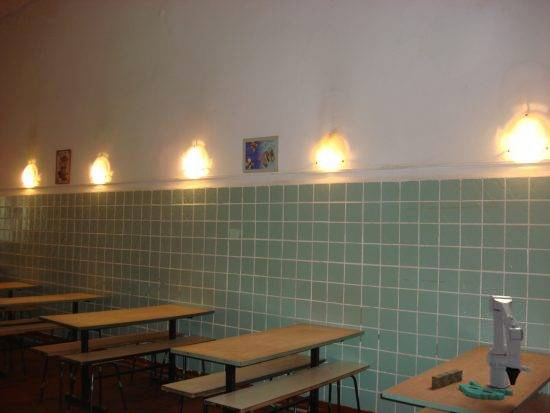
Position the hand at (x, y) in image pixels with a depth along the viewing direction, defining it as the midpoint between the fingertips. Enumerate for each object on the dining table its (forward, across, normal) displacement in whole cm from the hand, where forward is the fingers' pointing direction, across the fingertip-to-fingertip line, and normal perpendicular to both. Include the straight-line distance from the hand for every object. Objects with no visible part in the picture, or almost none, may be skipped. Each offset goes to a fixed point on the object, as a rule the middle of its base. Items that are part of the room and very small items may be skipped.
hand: (512, 384), depth 249 cm
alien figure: (+8, -14, 0) cm, 16 cm away
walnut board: (+7, -32, 0) cm, 33 cm away
